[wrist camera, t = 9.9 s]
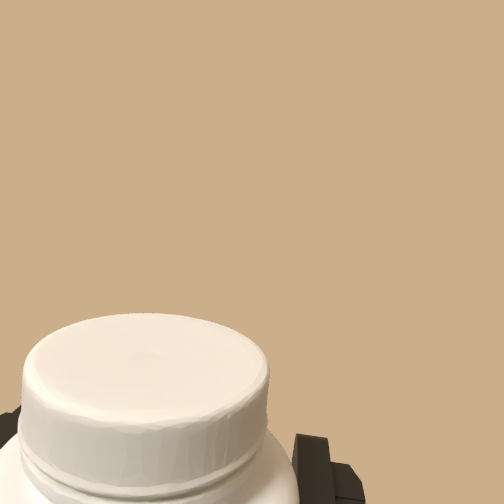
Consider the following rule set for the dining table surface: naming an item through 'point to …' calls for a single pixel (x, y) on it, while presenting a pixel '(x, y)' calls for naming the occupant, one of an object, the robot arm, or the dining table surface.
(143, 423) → the supplement bottle
